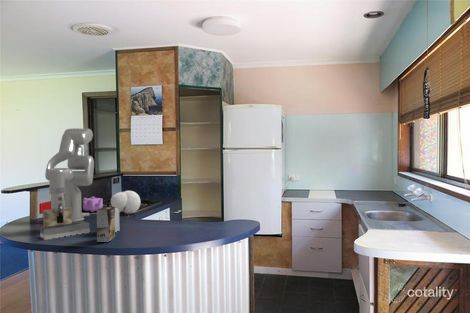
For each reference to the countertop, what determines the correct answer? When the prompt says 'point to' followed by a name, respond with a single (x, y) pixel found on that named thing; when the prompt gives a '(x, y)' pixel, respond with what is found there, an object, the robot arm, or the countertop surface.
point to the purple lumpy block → (92, 204)
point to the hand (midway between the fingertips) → (57, 221)
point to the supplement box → (117, 220)
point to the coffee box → (105, 224)
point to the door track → (64, 230)
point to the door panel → (51, 217)
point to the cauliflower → (126, 202)
